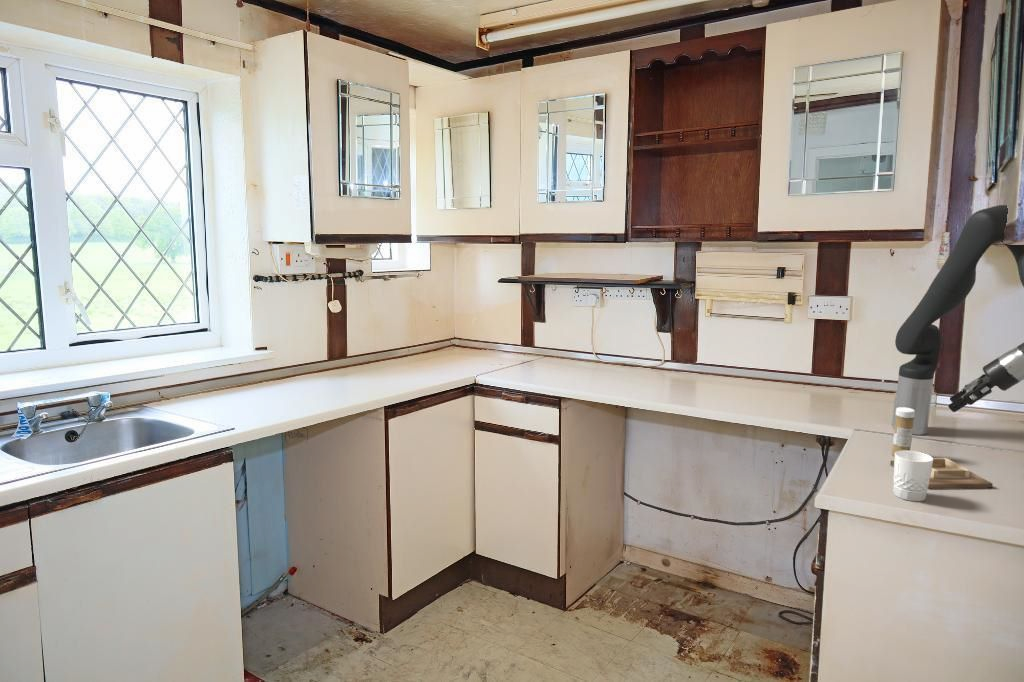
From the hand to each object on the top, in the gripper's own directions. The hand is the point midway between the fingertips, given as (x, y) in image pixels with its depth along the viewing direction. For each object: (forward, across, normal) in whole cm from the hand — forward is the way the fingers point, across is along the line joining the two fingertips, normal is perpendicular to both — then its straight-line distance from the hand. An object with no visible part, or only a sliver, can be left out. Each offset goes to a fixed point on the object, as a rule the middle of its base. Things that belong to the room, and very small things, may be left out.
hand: (951, 405), depth 181 cm
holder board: (+12, +12, +11) cm, 20 cm away
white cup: (+16, +30, +8) cm, 35 cm away
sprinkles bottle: (+19, 0, +4) cm, 19 cm away
